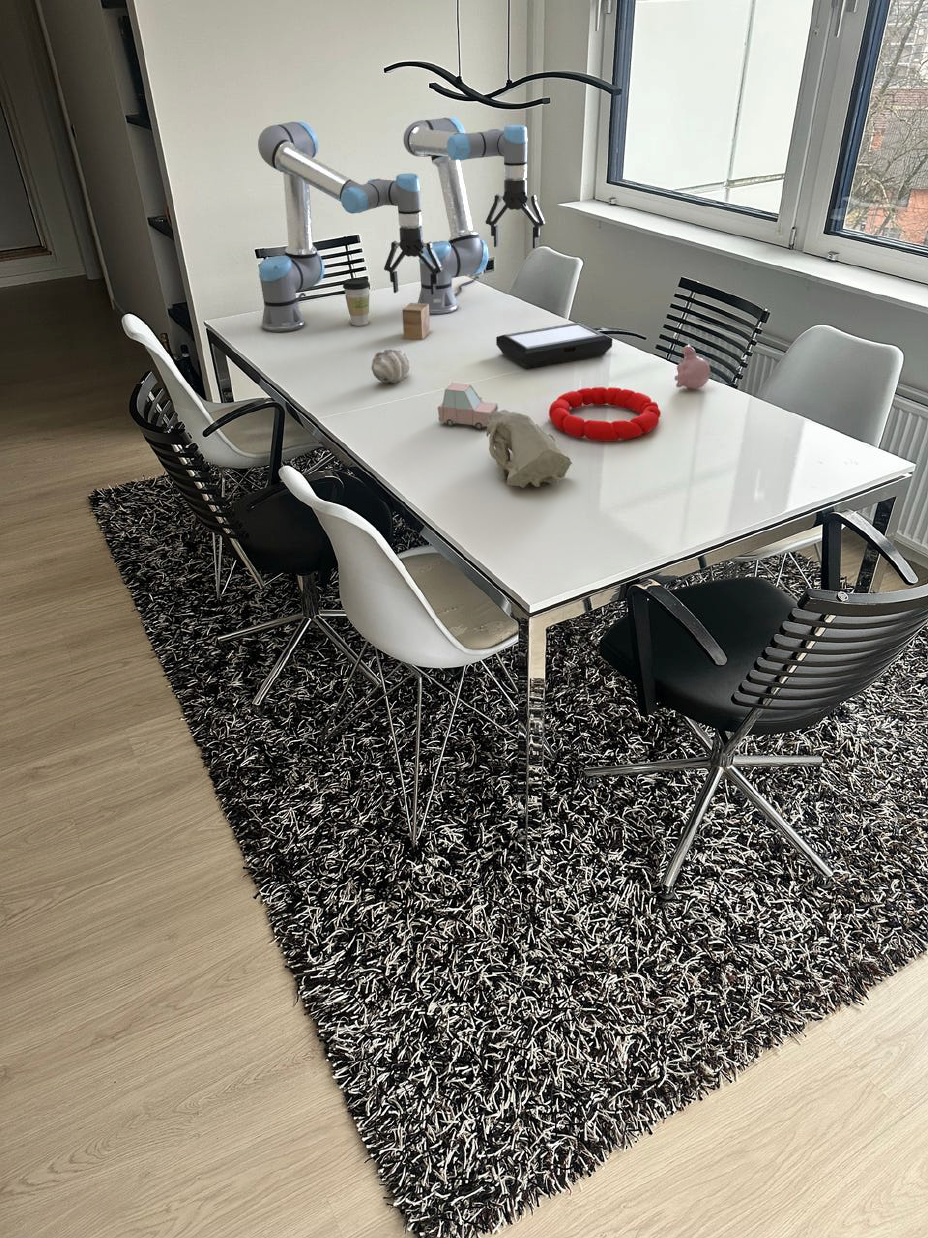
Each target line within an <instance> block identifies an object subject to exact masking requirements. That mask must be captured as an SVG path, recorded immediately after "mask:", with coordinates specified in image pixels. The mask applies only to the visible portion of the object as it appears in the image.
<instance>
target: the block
mask: <svg viewBox="0 0 928 1238" xmlns="http://www.w3.org/2000/svg"><path fill="white" fill-rule="evenodd" d="M401 313H402V327H403V339H404V340H421V341H423V340H424V339H425V338H426V337H427V336H428V335H429V334H430V333H431V321H430V320H431V319H430V314H429V304H424V303H418V302H410V303H408V304H407V305H406V306H405V307H403V308H402V309H401Z"/></svg>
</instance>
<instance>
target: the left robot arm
mask: <svg viewBox="0 0 928 1238" xmlns="http://www.w3.org/2000/svg"><path fill="white" fill-rule="evenodd" d="M257 147H258V152H259V155H260V157H261V158H262V160H263V161H264V162H265V163H266V164H267V165H269V166H270V167H271V168H273V169H275V170H276V171H278V172H280V173H282V175H283V186H284V200H285V213H286V227H287V239H288V245H287V246H286V247H285V248H284V255H274V256H270V257H267V258H265V259H263V260H262V261H260V263H259V265H258V277H259V281H260V287H261V292H262V293H261V294H262V299H263V313H262V319H261V326H262V330H264V331H265V332H271V333H286V332H293V331H296V330H297V331H298V330H300V329H302V328H304V326H305V319H304V317H303V314H302V312H301V310H300V307H299V306H298V305H299V304H298V302H299V301H300V300H301V298H302V297H306V296H307V294H306V293H305V292H301V293H299V295H298V296H297V295H296V294H297V292H300V291H302V290H303V291H304V290H306V289H309V288H313V287H314V286H316V285H318V284H319V283H320V282H321V281H322V280H323V278H324V275H325V272H326V271H325V263H324V259H322V255H320V254H319V253H318V249H317V247H315V245H314V243H313V242H314V241H313V230H312V229H313V225H312V211H311V210H312V209H311V194H310V193H311V191H310V186H312V187H314V189H317V190H319V191H320V192H322V193H324V194H326V195H328V196H330V197H331V198H333V199H335V200H337V201H339V203H341V206H342V207H343V209H344V211H345V212H347V213H349V214H352V215H353V214H360V213H364V212H367V211H369V210H372V209H377V208H380V207H383V206H391V207H392V206H394V207H397V214H398V215H397V216H398V225H399V226H400V227H399V240H400V241H397V240H394V241H392V242H391V244H390V251H389V253H388V257H387V259H386V262H385V264H384V267H383V270H384V271H385V272H386V271H387V272H388V273H389V281H390V283H392V286H393V288H392V289H393V294H396V293H398V292H399V283H398V282H399V280H398V279H399V277H398V271H397V268H398V266H399V265H400V263H401V262H402V261H403V260H404V258H405V257H409V258H410V257H413V258H417V257H418V258H420V259H421V260H422V261H423V262H424V263H425V265H426V266H427V267H428V268H429V270H430V271H431V272H432V274H431V275H430V277H431V295H434V294H435V293H436V285H435V284H437V283H438V273H440V272H441V271H442V270H443V268H442V266H441V264H440V262H439V260H438V258H437V256H436V253H435V251H434V249H433V245H432V242H433V241H428V242H425V241H424V238H423V237H424V236H423V227H422V225H423V219H422V208H421V207H422V205H421V185H420V177H419V175H418V174H417V173H410V172H409V173H400V174H397V175H396V177H395V180H394V179H393V180H392V179H383V178H382V179H381V178H372V179H368V180H367V182H366V183H362V184H361V183H359V182H356V181H354V180H353V179H351V178H350V177H347V176H346V175H344V174H342V173H340V172H338V171H336V170H335V169H334V168H332V167H330V166H327V165H326V164H324V163H322V162H321V161H319V160H317V159H316V158H315V157H316V155H317V154H318V151H319V141H318V137H317V134H316V132H315V131H314V130H313V128H312V127H311V126H310V125H309V124H308V123H306V122H303V121H289V122H284V123H279V124H273V125H269V126H267V127H265V128H264V129H263V130H262V131H261V133H260V134H259V137H258V141H257ZM424 247H425V248H426V250H428V253H429V255H430V257H431V259H432V261H433V263H434V265H435V266H434V265H433V263H432V262H431V261H430V260H429V258H428V257H427V256H426V254H425V252H424V251H423V250H422V249H423V248H424ZM399 248H400V250H401V252H400V254H399V255H398V257H397V258H396V260H395V261H394V263H393V264H392V262H393V260H394V257H395V255H396V252H397V249H399Z"/></svg>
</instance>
